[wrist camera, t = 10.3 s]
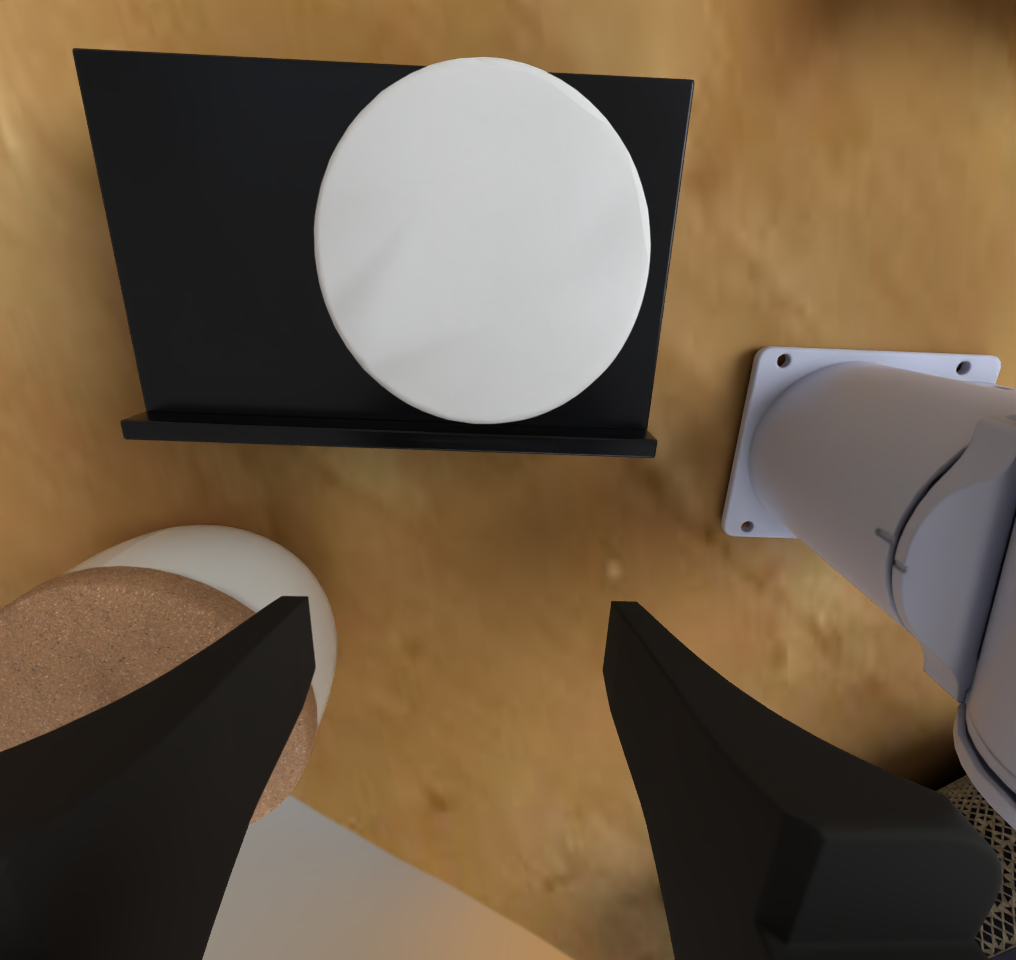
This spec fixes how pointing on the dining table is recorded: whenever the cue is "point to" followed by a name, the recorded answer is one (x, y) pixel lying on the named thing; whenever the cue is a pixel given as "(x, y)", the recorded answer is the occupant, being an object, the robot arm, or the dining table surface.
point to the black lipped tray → (313, 255)
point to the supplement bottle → (482, 240)
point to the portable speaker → (1012, 919)
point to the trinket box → (153, 631)
